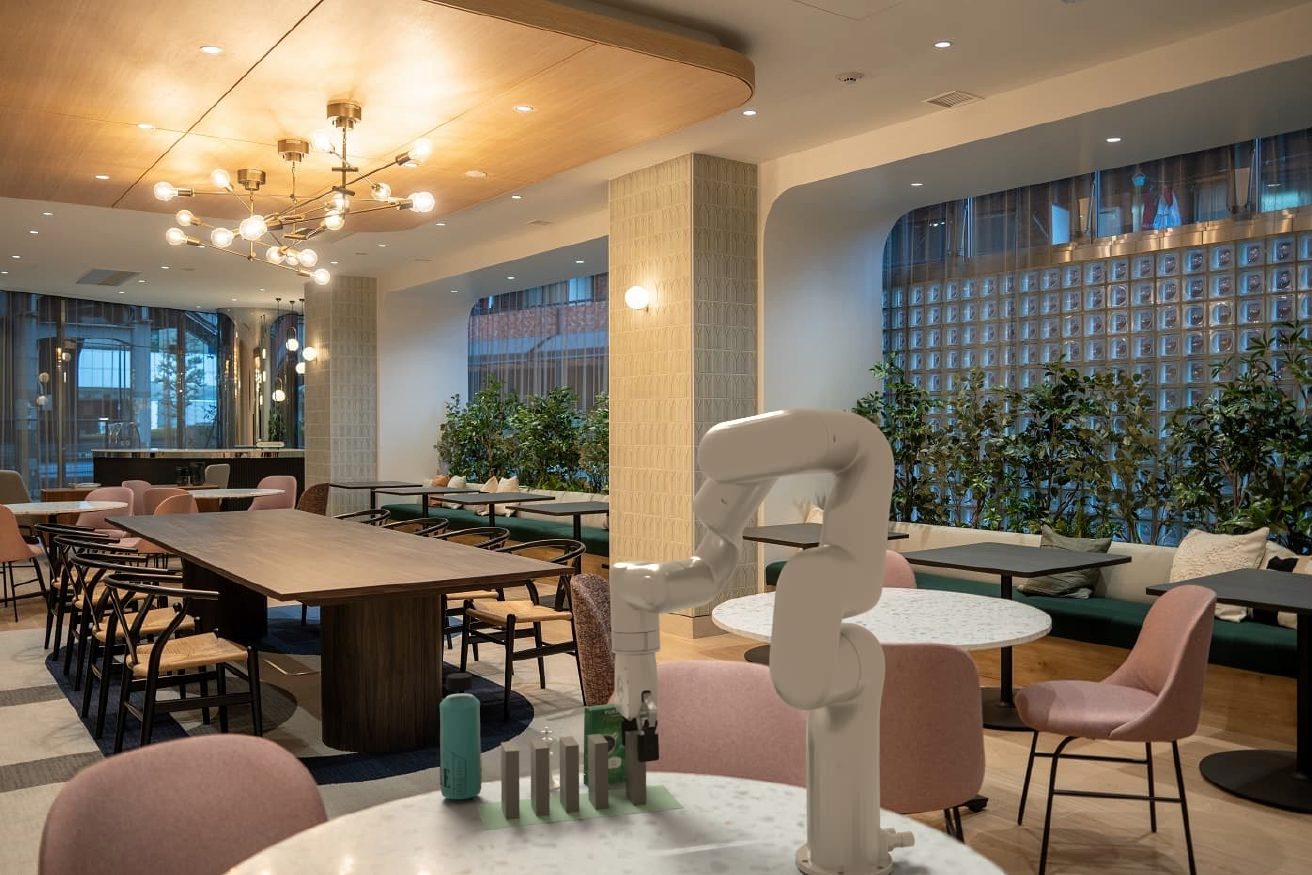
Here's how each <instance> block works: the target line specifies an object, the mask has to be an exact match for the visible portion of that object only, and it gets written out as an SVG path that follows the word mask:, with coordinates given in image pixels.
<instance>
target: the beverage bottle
mask: <svg viewBox="0 0 1312 875" xmlns="http://www.w3.org/2000/svg"><path fill="white" fill-rule="evenodd" d="M445 683H446V684H445V690H448V691H450V692H453V691H454V692H459V691H460V692H461V691H468V690H472V689H473V687H474V686H473V685H474V683H473V676H472V674H471V673H464V672H460V673H459V672H458V673H456V672H455V673H451V674H448V675H447V676H446V682H445ZM480 706H481V702H480V700H479V698H477V697H476V696H475V695H474V694H471V693H453V694H449V695H447V696H446V697H445V698H443V700H442V701H440V703H439V718H440V719H439V720H440V723H439V724H440V727H439V733H440V734H439V735H438V737H439V740H440V741H439V742H440V743H439V744H440V748H439V749H440V752H439V754H440V756H439V760H440V763H439V765H440V766H439V781H440V782H439V787H440V790H439V791H440V792H441V795H442V796H443V797H444V798H446V799H450V800H451V799H452V800H464V799H470V798H473V797H476V796H478V795H479V794H480V793H481V790H482V786H483V783H482V780H483V769H482V768H483V767H482V766H483V765H482V762H483V761H482V747H481V745H482V744H481V722H480V721H481V717H480V716H481V715H480V712H481V711H480V708H481V707H480Z"/></svg>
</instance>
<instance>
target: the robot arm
mask: <svg viewBox="0 0 1312 875" xmlns="http://www.w3.org/2000/svg"><path fill="white" fill-rule="evenodd" d="M891 447H892V446H891V445H890V443H889V441H888V439H887V437H886V436H885V434H884V433H883V432H882V431H881V430H880V428H879V427H877V425H875V424H874V423H873V422H872V421H870V420H869V419H868V418H866V417H865V416H864V417H863V415H860V414H857V413H856V412H851V411H847V410H840V409H832V408H829V409H827V408H826V409H825V408H824V409H823V408H820V409H818V408H788V409H787V408H786V409H780V410H776V411H771V412H767V413H762V414H758V415H754V416H749V417H745V418H744V417H743V418H740V419H734V420H728V421H723V422H720V423H718V424H716V425H714V426H713V427H711V428H710V429H708V430H707V432H706V433H705V434H704V435H703V436H702V439H700V443H699V446H698V448H697V453H696V454H697V455H696V460H697V464H698V467H699V470H700V472H701V473H702V475H703V476H704V477H705V478H706V479H705V480H704V482H703V484H702V485H701V487H700V488H699V490H698V491H697V493H696V494H695V496H694V498H693V500H692V504H691V505H692V506H691V507H692V511H693V514H694V516H695V517H696V518H697V520H698V521H699V523H701V525H702V526H703V527H705V529H707V530H706V533H705V535H704V537H703V539H702V541H701V542H700V543H699V545H698V547H697V548H696V550H695V551H694V553H693V554H692V555H691V557H690V558H684V559H678V560H669V561H664V562H657V563H653V562H651V561H647V560H628V561H627V560H626V561H619V562H616V563H614V564H612V565H611V567H610V568H609V574H608V575H609V599H610V600H609V601H610V604H609V605H610V628H611V629H610V630H611V634H610V636H611V652H612V653H613V654H615V655H614V656H615V658H614V704H615V708H616V710H617V711H618V712H619V713H620V714H621V719H622V721H621V734H622V745H623V746H625V732H627V731H638V732H639V735H637V752H638V761H639V762H646V763H647V762H656V761H659V760H660V744H659V726H658V725H659V721H658V720H657V719H658V718H657V717H658V716H659V714H660V713H659V712H660V695H659V679H658V670H657V668H658V665H657V658H656V653H658V652H660V651H661V633H660V632H661V631H660V628H661V627H660V615H665V614H670V613H675V612H680V611H681V610H687V609H688V610H689V609H694V608H699V607H703V606H705V605H708V604H709V603H710V602H712V601H714V599H715V598H716V597H717V596H718V595H719V594H720V593H721V591H722V590H723V589H724V588H725V586H726V584H728V582H729V580H730V579H731V577H732V576H733V574H734V572H735V571H736V569H737V567H738V565H739V563H740V561H741V560H740V559H741V557H742V550H743V543H744V538H743V537H744V536H743V533H744V532H743V531H744V530H745V528H746V527H747V525H748V524H749V523H750V521H751V519H752V518H753V516H754V515H755V513H756V512H757V511H758V509H759V507H760V506H761V505H762V503H763V502H764V500H765V499H766V497H767V496H768V494H769V493H770V492H771V490H772V489H773V487H774V485H775V484H776V483H777V481H778V480H779V478H782V477H788V476H797V475H800V476H801V475H813V474H815V475H816V474H831V475H832V476H833V477H834V478H833V483H832V486H831V488H830V490H829V492H828V494H827V497H826V499H825V504H824V507H823V512H822V523H821V524H822V525H821V533H820V538H819V543H818V546H817V547H810V548H806V549H803V550H800V551H798V552H797V553H795V554H793V556H791V557H790V558H789V559H788V560H787V561H786V563H785V564H784V565H783V568H782V569H781V571H780V574H779V577H778V578H777V582H776V587H775V593H774V603H773V613H772V614H773V615H772V624H771V636H770V646H769V647H770V648H769V660H768V661H769V663H768V666H769V667H768V668H769V676H770V680H771V684H772V686H773V689H774V692H775V693H776V694H777V696H778V697H779V698H780V700H781V701H782V702H783V703H784V704H786V705H787V706H788V707H791V708H793V709H795V710H798V711H808V713H807V718H806V729H805V732H806V733H805V735H806V736H805V739H806V740H805V758H806V759H805V764H806V765H805V767H806V768H805V769H806V771H805V772H806V773H805V774H806V777H805V778H806V782H805V783H806V843H804V844H803V845H801V846H800V847H798V849H797V850H796V851H795V857H794V858H795V865H796V866H797V868H798V869H799V870H800V871H802V873H804V874H806V875H889V874H891V873H892V871H893V868H894V864H893V863H894V860H893V857H892V855H891V854H890V853H889V852H893V851H894V849H896V848H903V849H904V848H911V847H913V846H915V842H916V840H915V835H914V833H913V832H912V831H911V830H908V831H899V832H896V829H895V828H894V827H888V828H881V787H880V786H881V785H880V784H881V782H880V780H881V779H880V778H881V777H880V774H881V773H880V767H881V766H880V748H881V747H880V745H881V744H880V722H881V721H880V720H881V717H880V716H881V704H882V696H883V690H884V685H885V676H886V660H885V659H886V657H885V653H884V650H883V647H882V645H881V643H880V640H878V638H877V637H876V636H875V634H874V633H873V632H872V631H870V630H869V629H868V628H867V627H864V626H863V625H860V624H857V623H854V622H853V623H852V622H843V620H845V619H848V618H849V619H850V618H854V617H856V616H859V615H863V614H865V613H867V612H869V611H871V610H872V609H873V608H875V607H876V606H877V604H878V603H879V600H880V599H881V596H882V593H883V586H884V576H885V568H886V567H885V565H886V557H887V556H886V555H887V546H888V537H889V536H888V535H889V523H890V522H889V521H890V520H889V519H890V510H891V502H892V497H893V496H892V495H893V490H894V482H895V481H894V480H895V460H894V455H893V451H892V448H891Z"/></svg>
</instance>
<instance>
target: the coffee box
mask: <svg viewBox="0 0 1312 875" xmlns="http://www.w3.org/2000/svg"><path fill="white" fill-rule="evenodd" d="M583 709H584V711H583V712H584V714H583V716H584V717H583V719H584V720H583V721H584V724H583V774H585V775H583V785H585V786H586V787H588V735H593V734H601V735H602V736H603V737H604V738H605V740H606V741H607V742H608V786H609V785H614V784H620V783H624V782H625V783H626V761H625V746H623V745H622V734H621V721H622V719H621V714H620V713H619V712H618V711H617V710H616V708H615V703H609V704H600V705H591V706H589V705H588V706H584V708H583Z"/></svg>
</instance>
